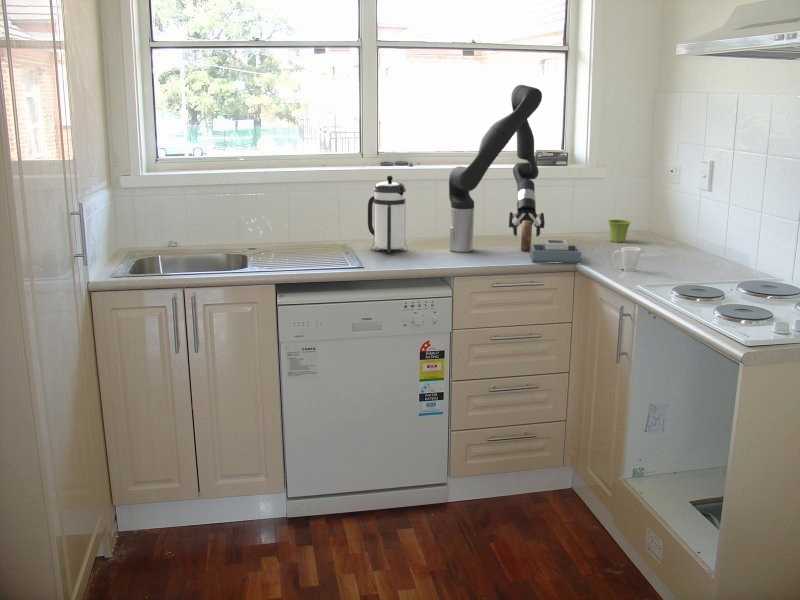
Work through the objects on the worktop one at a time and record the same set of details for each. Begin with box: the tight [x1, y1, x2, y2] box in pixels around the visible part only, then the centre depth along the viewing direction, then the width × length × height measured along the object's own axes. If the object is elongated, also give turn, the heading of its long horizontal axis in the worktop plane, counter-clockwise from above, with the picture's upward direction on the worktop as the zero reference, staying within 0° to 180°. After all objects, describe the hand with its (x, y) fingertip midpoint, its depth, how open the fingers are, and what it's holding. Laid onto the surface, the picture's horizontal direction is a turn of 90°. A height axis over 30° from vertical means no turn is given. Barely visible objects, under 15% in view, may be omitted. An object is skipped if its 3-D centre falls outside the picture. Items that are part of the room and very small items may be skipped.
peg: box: [520, 220, 533, 253], centre depth 319 cm, size 4×4×12 cm
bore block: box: [542, 238, 569, 251], centre depth 304 cm, size 9×9×6 cm
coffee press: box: [367, 175, 409, 255], centre depth 316 cm, size 17×16×30 cm
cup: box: [611, 246, 642, 272], centre depth 288 cm, size 7×10×8 cm
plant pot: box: [607, 219, 632, 243], centre depth 341 cm, size 9×9×9 cm
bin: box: [529, 243, 582, 265], centre depth 305 cm, size 18×13×4 cm
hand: (526, 235), depth 318 cm, fingers open, 8 cm apart
